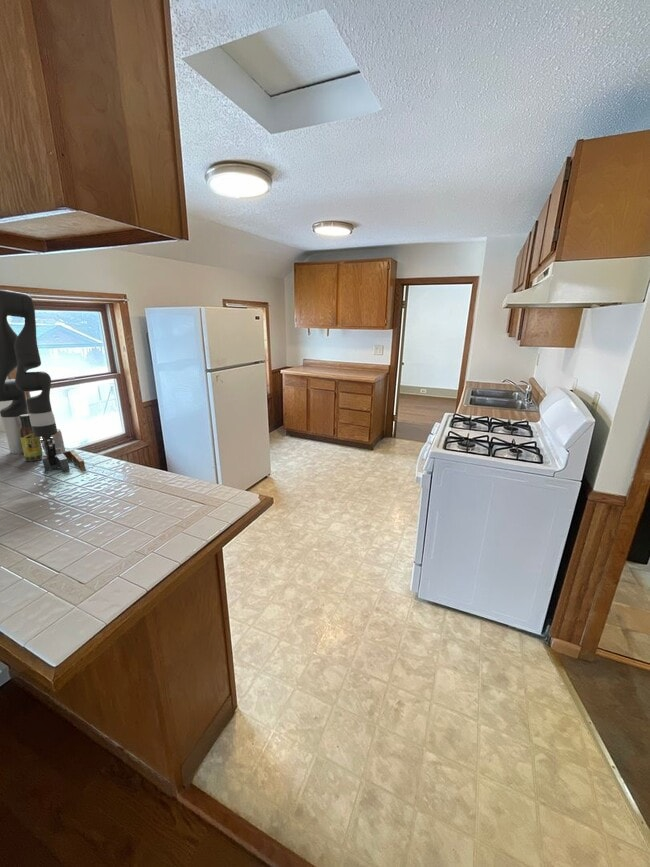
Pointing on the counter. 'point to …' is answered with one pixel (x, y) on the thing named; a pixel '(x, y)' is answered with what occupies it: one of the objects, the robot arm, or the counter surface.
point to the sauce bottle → (29, 440)
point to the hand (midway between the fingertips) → (52, 463)
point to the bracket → (61, 463)
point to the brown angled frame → (73, 458)
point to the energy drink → (58, 441)
